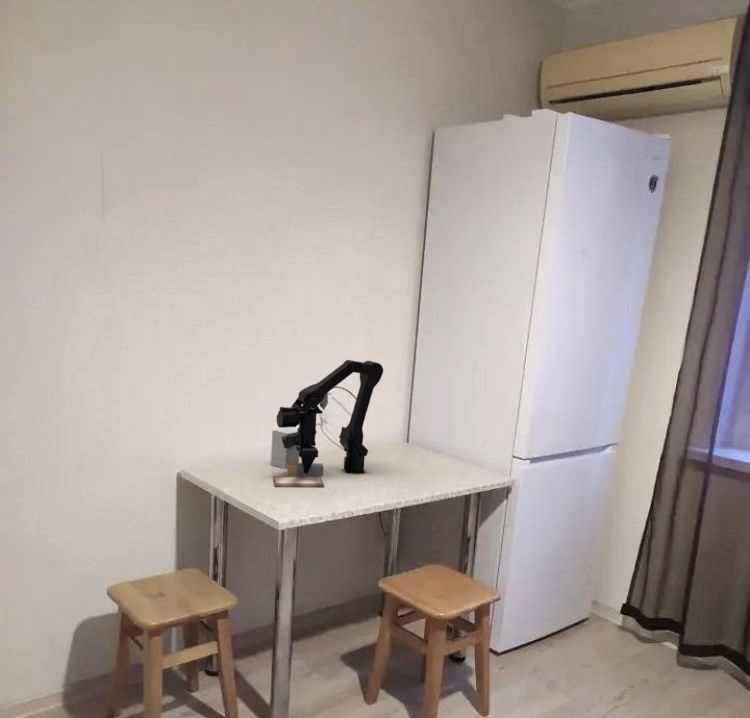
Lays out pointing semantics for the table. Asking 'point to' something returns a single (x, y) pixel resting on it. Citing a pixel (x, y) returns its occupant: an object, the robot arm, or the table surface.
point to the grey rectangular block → (298, 469)
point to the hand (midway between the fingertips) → (305, 471)
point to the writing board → (297, 481)
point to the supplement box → (283, 449)
